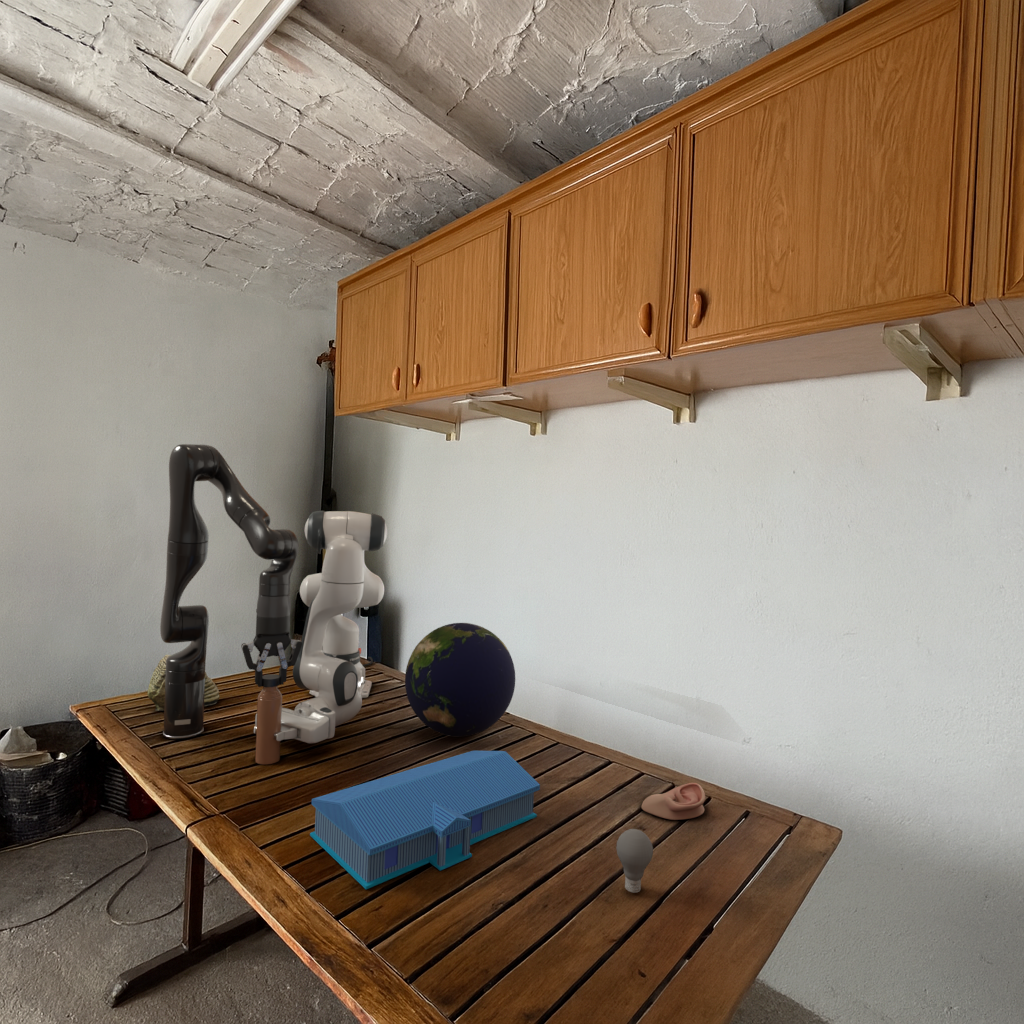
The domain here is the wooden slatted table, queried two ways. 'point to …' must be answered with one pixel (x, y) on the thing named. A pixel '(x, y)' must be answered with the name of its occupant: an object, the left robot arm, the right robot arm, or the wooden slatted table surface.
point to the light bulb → (634, 857)
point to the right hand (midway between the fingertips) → (265, 734)
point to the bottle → (268, 725)
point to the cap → (270, 680)
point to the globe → (460, 679)
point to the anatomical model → (677, 802)
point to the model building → (423, 815)
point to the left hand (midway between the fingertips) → (270, 684)
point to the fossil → (158, 687)
